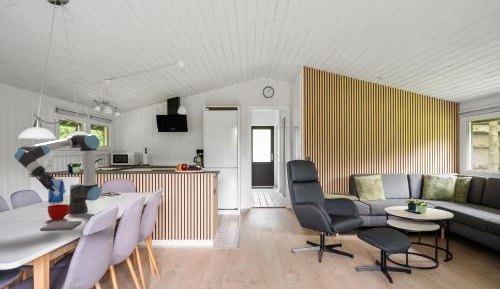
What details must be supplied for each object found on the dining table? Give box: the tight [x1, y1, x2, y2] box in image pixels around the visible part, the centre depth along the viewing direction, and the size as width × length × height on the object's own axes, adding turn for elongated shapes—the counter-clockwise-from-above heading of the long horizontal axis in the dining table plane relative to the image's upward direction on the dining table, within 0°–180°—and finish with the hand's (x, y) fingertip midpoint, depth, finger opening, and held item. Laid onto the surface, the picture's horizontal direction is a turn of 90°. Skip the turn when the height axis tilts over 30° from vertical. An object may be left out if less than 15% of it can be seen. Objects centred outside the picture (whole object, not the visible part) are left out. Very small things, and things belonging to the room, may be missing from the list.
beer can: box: [47, 178, 65, 205], centre depth 197 cm, size 8×8×16 cm
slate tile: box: [40, 220, 83, 231], centre depth 198 cm, size 18×18×2 cm
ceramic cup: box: [47, 203, 71, 221], centre depth 218 cm, size 13×17×10 cm
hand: (61, 193), depth 198 cm, fingers closed on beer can, 8 cm apart
